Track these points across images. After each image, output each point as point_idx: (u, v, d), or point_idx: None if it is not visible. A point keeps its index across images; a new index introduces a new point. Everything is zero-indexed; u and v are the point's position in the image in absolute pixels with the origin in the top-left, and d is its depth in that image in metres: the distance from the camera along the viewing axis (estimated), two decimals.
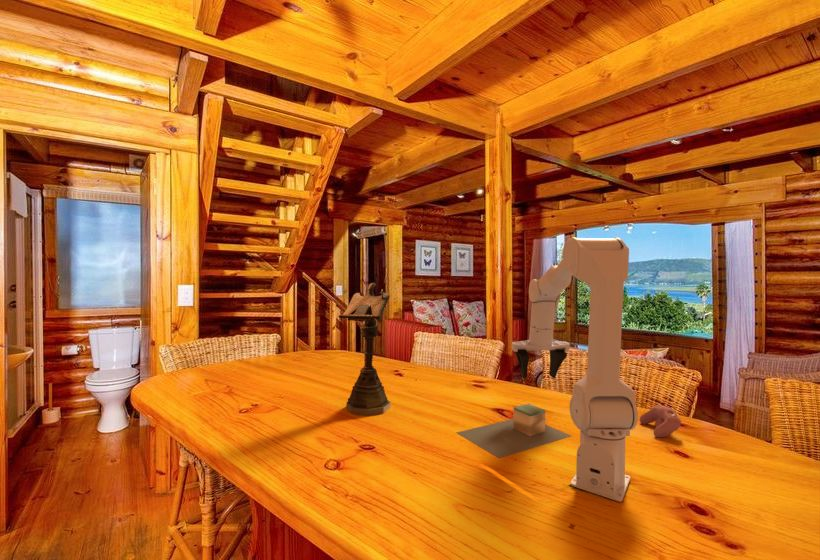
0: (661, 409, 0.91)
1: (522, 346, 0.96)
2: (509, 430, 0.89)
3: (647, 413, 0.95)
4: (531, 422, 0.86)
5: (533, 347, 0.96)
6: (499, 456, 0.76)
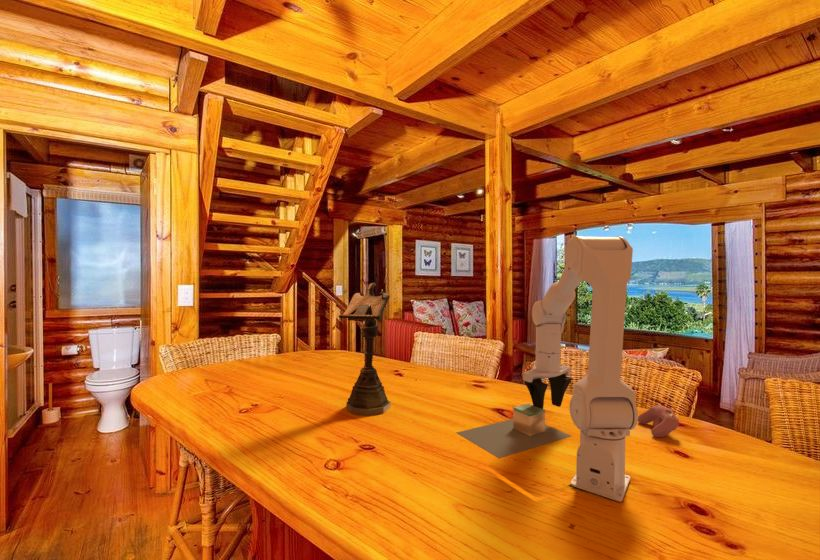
0: (659, 409, 0.91)
1: (536, 375, 0.88)
2: (509, 430, 0.89)
3: (645, 413, 0.95)
4: (531, 422, 0.86)
5: (547, 374, 0.89)
6: (499, 456, 0.76)
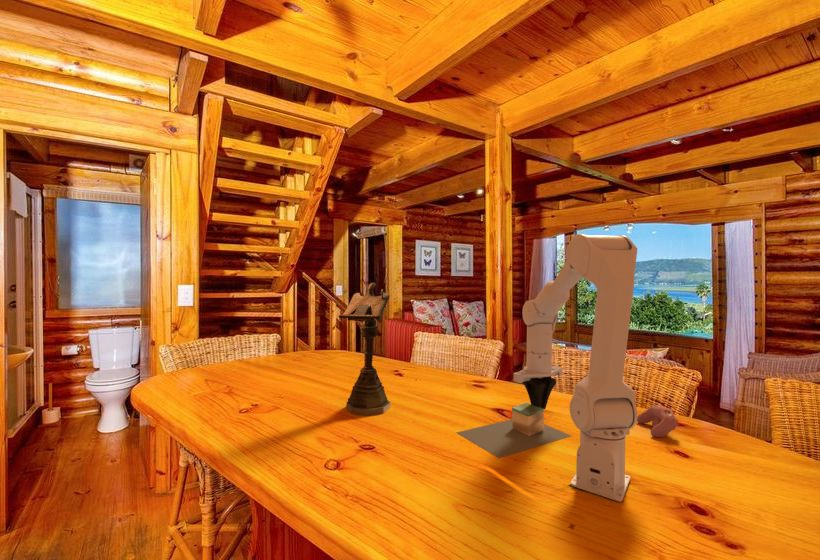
0: (658, 409, 0.91)
1: (527, 376, 0.87)
2: (509, 430, 0.89)
3: (644, 413, 0.95)
4: (529, 422, 0.86)
5: (538, 375, 0.87)
6: (499, 456, 0.76)
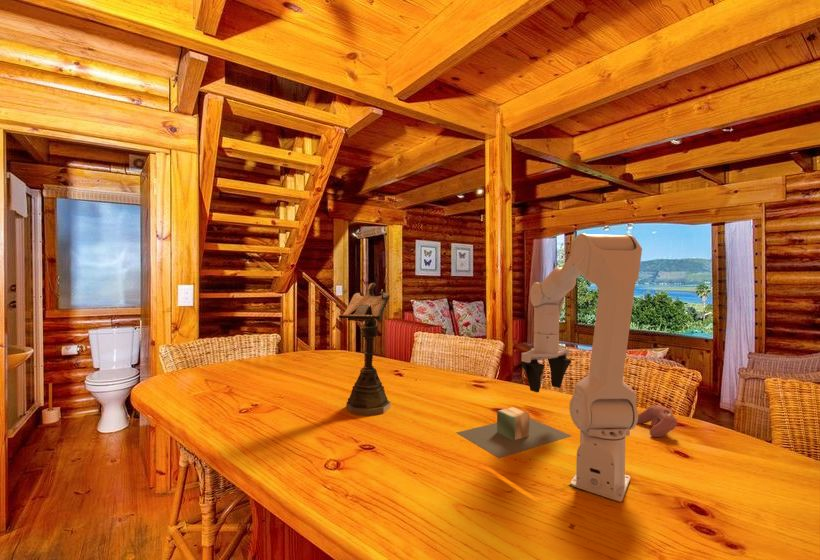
0: (657, 409, 0.91)
1: (535, 356, 0.88)
2: None
3: (643, 413, 0.95)
4: (519, 436, 0.84)
5: (545, 355, 0.89)
6: (499, 456, 0.76)
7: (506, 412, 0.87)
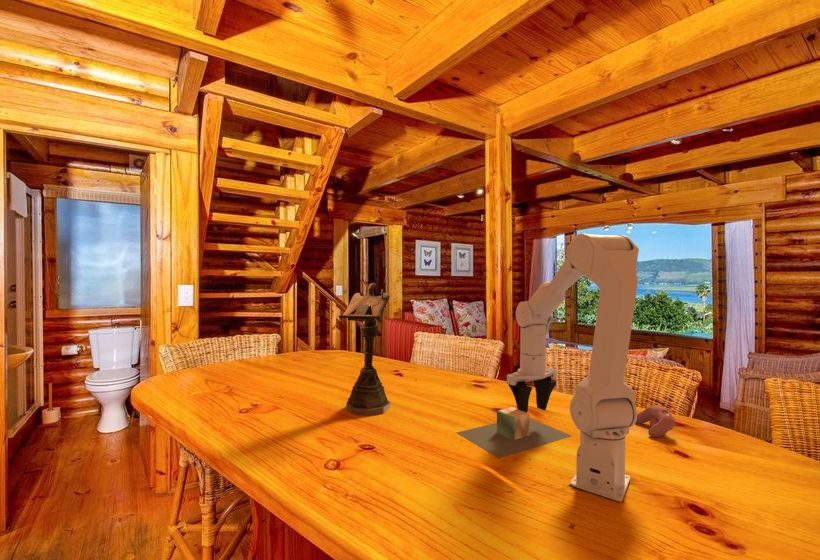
0: (656, 409, 0.91)
1: (520, 378, 0.86)
2: None
3: (642, 413, 0.95)
4: (519, 436, 0.84)
5: (531, 377, 0.86)
6: (499, 456, 0.76)
7: (506, 412, 0.87)
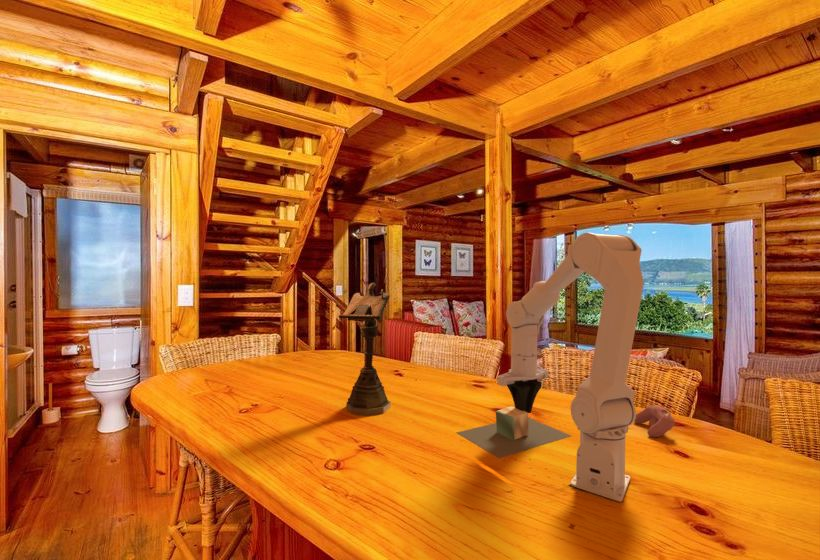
0: (655, 409, 0.91)
1: (511, 379, 0.84)
2: None
3: (641, 413, 0.95)
4: (518, 436, 0.84)
5: (522, 378, 0.85)
6: (499, 456, 0.76)
7: (505, 412, 0.86)
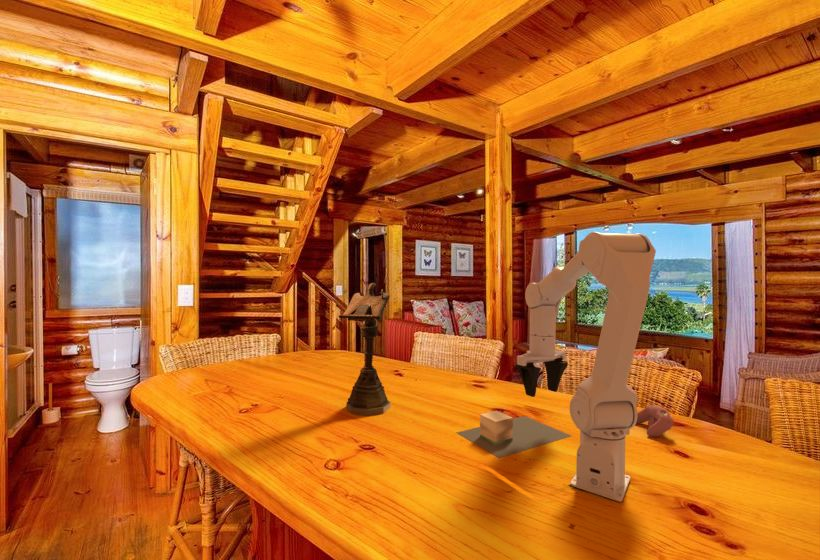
0: (654, 409, 0.91)
1: (531, 359, 0.85)
2: None
3: (640, 413, 0.95)
4: (511, 432, 0.83)
5: (542, 358, 0.85)
6: (499, 456, 0.76)
7: (485, 434, 0.84)
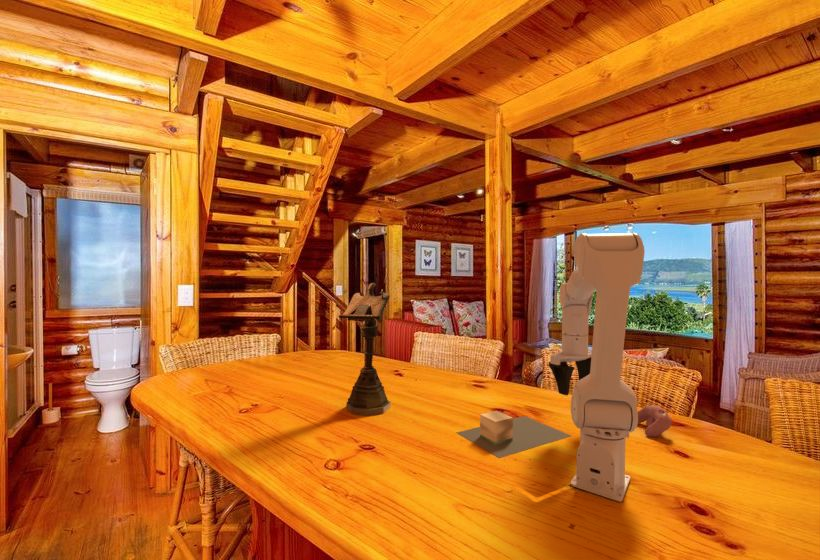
0: (652, 409, 0.91)
1: (564, 358, 0.86)
2: None
3: (638, 413, 0.95)
4: (511, 432, 0.83)
5: (575, 357, 0.87)
6: (499, 456, 0.76)
7: (485, 434, 0.84)
